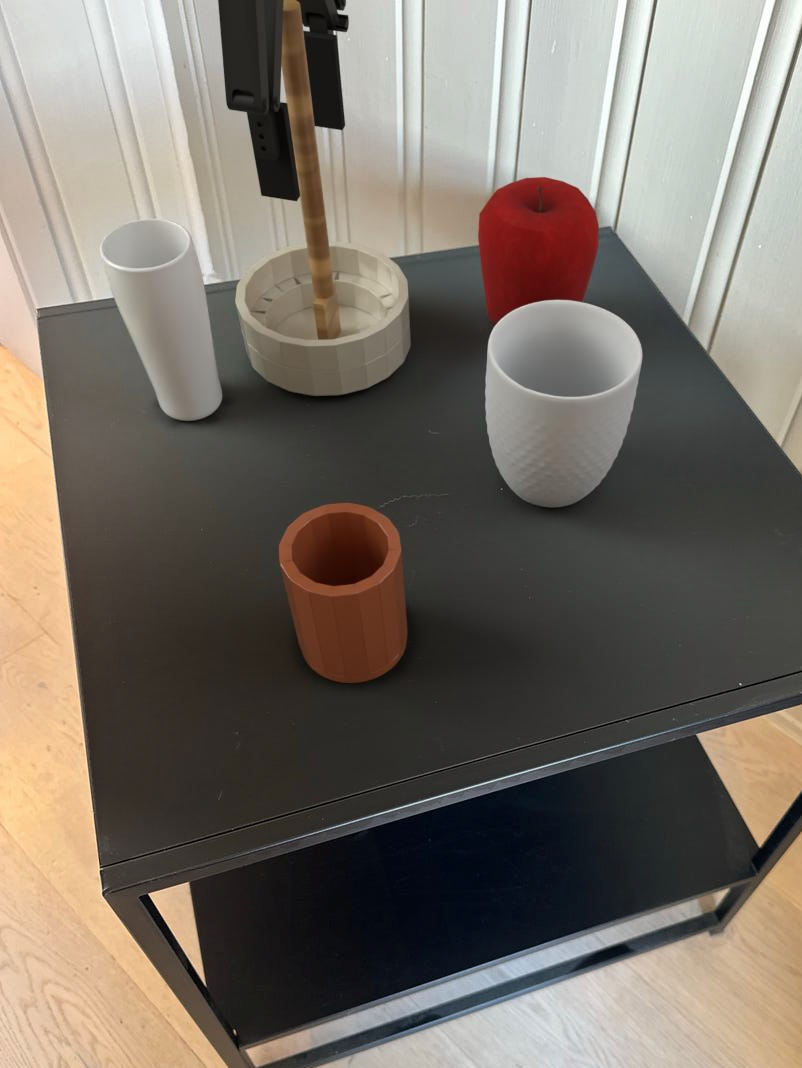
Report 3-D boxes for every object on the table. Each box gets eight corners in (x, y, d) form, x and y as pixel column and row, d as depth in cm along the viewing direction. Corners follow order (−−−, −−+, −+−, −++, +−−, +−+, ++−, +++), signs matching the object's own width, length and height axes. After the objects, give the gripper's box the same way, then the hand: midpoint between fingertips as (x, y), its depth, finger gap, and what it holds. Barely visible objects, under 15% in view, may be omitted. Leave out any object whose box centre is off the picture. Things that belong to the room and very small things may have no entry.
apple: (570, 373, 85) (587, 233, 73) (461, 348, 86) (462, 207, 75) (598, 304, 90) (618, 164, 79) (496, 282, 92) (501, 142, 81)
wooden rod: (334, 353, 84) (291, 16, 62) (315, 350, 84) (265, 12, 62) (345, 331, 86) (307, -4, 64) (326, 328, 86) (282, -8, 64)
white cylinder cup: (218, 435, 79) (174, 275, 67) (140, 424, 80) (82, 265, 67) (242, 382, 83) (205, 222, 71) (168, 372, 83) (118, 212, 71)
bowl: (223, 386, 83) (208, 328, 78) (282, 288, 91) (272, 230, 86) (383, 416, 81) (379, 358, 76) (429, 313, 89) (427, 255, 84)
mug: (457, 412, 81) (458, 277, 71) (579, 393, 83) (598, 259, 72) (501, 540, 73) (510, 410, 62) (636, 517, 75) (666, 386, 64)
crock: (285, 670, 66) (260, 581, 58) (321, 587, 70) (303, 493, 62) (389, 693, 65) (380, 606, 57) (419, 607, 69) (414, 515, 61)
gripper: (241, -163, 46) (301, 250, 65) (376, -278, 59) (394, 96, 77) (100, -179, 47) (199, 233, 66) (262, -289, 60) (307, 83, 78)
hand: (305, 159), depth 71 cm, fingers open, 10 cm apart
